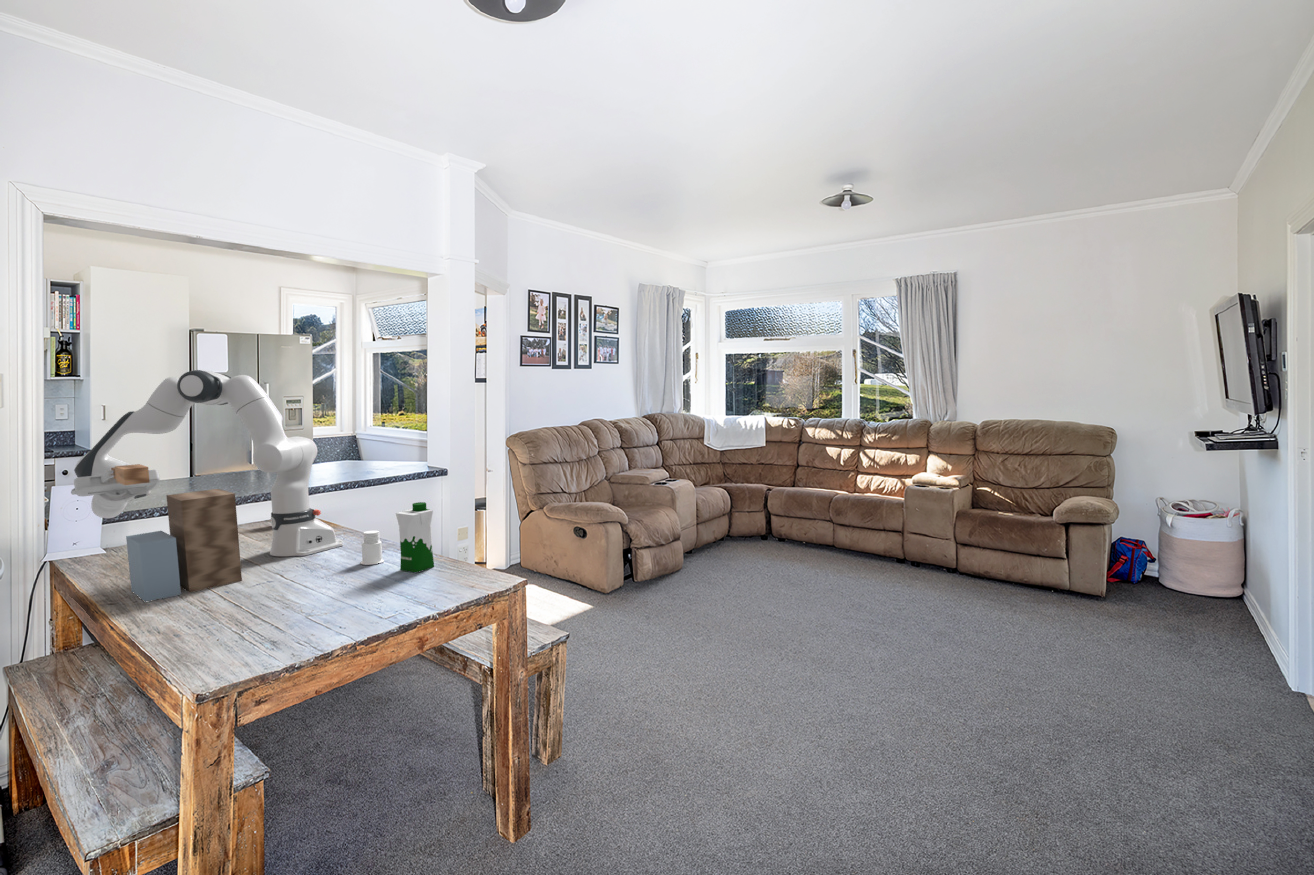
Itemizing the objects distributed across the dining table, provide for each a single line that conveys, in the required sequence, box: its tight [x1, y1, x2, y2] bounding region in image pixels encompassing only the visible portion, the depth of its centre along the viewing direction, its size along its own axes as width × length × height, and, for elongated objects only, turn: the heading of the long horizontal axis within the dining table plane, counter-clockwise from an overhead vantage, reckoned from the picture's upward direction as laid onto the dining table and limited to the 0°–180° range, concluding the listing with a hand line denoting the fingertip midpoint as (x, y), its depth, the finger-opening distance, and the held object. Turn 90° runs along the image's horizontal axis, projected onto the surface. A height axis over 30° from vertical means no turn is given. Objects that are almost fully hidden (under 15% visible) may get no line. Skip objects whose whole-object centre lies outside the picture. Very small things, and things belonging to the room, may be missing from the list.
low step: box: [125, 530, 182, 603], centre depth 181 cm, size 8×14×16 cm, turn 50°
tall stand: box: [166, 488, 243, 593], centre depth 190 cm, size 13×14×26 cm
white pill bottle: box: [360, 530, 385, 566], centre depth 208 cm, size 8×7×10 cm
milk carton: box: [395, 501, 435, 573], centre depth 200 cm, size 9×9×20 cm
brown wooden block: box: [111, 463, 150, 485], centre depth 191 cm, size 6×21×4 cm, turn 50°
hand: (121, 471), depth 195 cm, fingers closed on brown wooden block, 3 cm apart
